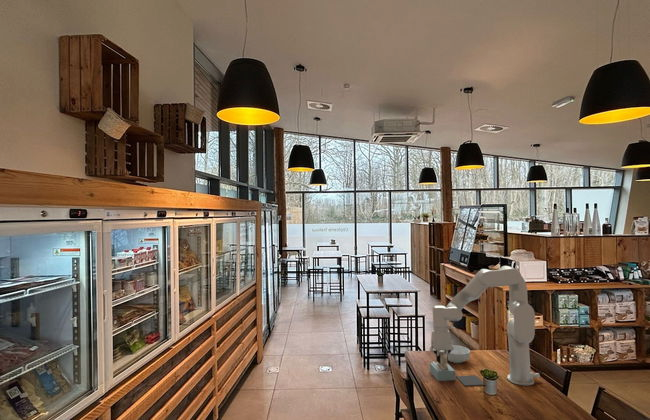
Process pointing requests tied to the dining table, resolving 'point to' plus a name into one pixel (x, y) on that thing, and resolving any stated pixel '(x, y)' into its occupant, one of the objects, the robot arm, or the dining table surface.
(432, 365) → the dispenser
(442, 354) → the cream tall block
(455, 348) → the cereal bowl
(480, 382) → the mat
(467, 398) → the dining table surface
